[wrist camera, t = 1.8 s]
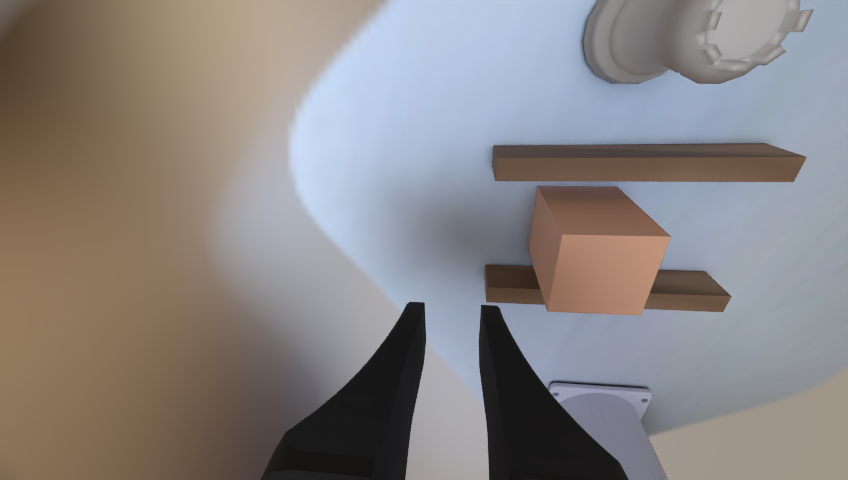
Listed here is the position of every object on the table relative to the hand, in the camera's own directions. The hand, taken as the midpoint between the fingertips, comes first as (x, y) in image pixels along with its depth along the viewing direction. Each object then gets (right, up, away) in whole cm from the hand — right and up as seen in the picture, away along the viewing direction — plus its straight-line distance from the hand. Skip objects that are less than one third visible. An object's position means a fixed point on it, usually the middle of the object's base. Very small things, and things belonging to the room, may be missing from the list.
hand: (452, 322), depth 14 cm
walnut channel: (+10, +5, +7) cm, 13 cm away
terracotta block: (+8, +5, +7) cm, 12 cm away
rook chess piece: (+9, +13, +2) cm, 16 cm away
